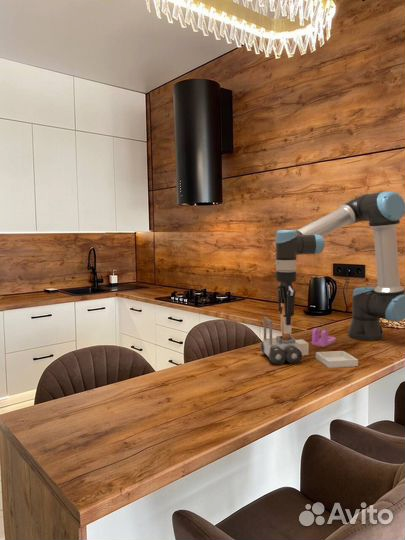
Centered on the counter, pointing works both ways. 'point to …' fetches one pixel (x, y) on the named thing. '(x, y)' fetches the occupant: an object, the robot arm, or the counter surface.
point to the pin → (284, 336)
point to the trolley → (280, 348)
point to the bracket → (323, 340)
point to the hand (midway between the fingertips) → (286, 331)
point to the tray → (336, 359)
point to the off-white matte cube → (303, 346)
